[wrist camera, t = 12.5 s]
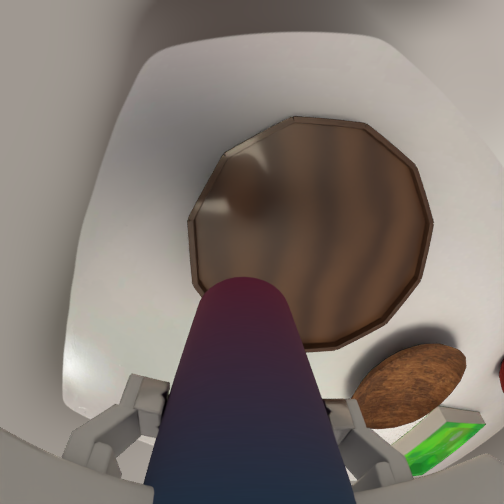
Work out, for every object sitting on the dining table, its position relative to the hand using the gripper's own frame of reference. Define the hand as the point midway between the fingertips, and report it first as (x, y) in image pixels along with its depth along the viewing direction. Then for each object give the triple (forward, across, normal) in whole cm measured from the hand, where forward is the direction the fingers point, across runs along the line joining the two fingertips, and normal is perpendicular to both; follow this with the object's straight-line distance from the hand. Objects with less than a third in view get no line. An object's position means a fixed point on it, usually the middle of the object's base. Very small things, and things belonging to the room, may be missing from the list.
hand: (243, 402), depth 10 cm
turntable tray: (+21, -8, 0) cm, 23 cm away
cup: (+6, 0, 0) cm, 6 cm away
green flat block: (+23, -57, +46) cm, 77 cm away
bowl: (+23, -31, +20) cm, 43 cm away
